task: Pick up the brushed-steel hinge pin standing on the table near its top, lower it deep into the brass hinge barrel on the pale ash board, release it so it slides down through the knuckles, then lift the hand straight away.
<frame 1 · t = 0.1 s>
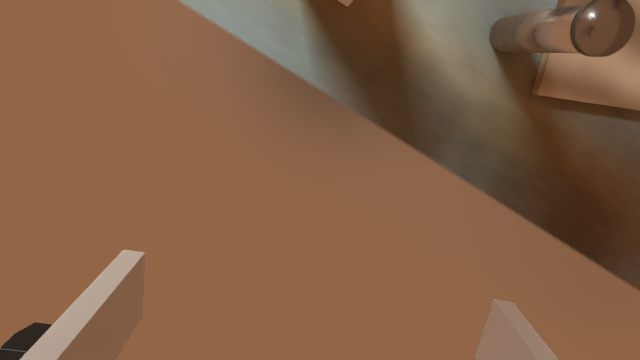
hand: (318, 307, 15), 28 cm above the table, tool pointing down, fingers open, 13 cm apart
hinge pin: (506, 34, 39), on the table
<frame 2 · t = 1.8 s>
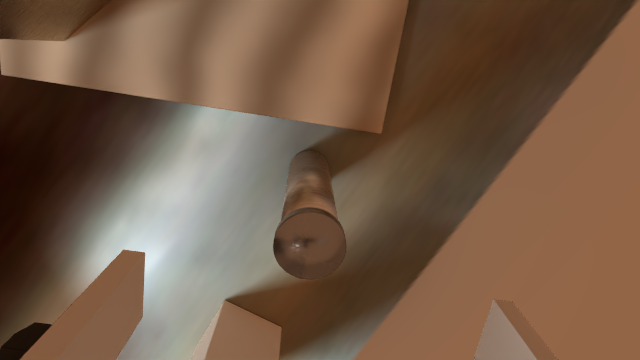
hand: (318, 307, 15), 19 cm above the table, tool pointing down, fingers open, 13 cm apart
hinge pin: (309, 169, 34), on the table
milk: (239, 335, 39), on the table
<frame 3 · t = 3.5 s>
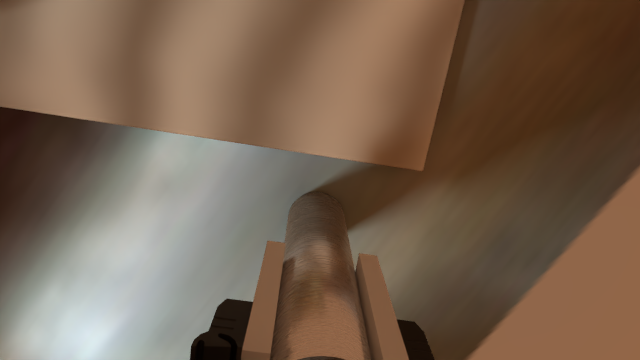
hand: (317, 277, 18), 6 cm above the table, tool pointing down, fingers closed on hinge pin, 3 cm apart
hinge pin: (316, 218, 24), on the table, touching gripper
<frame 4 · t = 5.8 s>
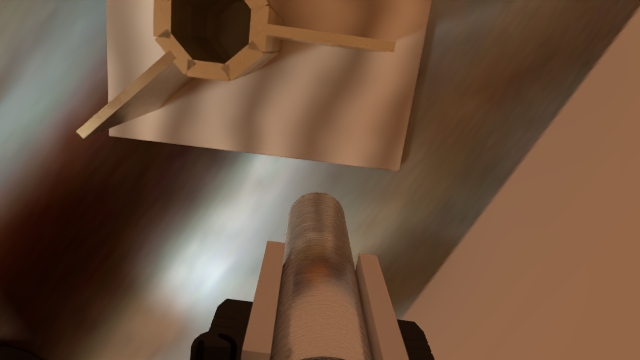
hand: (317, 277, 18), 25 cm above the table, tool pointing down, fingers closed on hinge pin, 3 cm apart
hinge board: (267, 46, 38), on the table
hinge pin: (316, 218, 24), point 18 cm above the table, touching gripper
hinge: (246, 31, 38), resting on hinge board
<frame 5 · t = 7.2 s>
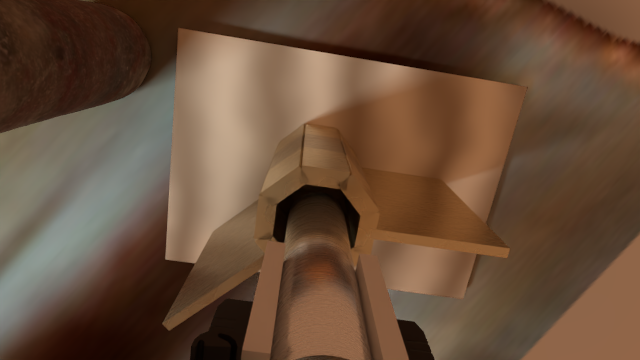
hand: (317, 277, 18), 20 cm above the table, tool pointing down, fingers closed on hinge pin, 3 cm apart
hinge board: (335, 174, 37), on the table
hinge pin: (316, 218, 24), point 13 cm above the table, touching gripper
hinge: (314, 159, 36), resting on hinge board
candle: (106, 55, 33), on the table
when the fingers open (16 cm above the table, at t = 8.4 s): hinge pin drops 9 cm, resting on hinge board.
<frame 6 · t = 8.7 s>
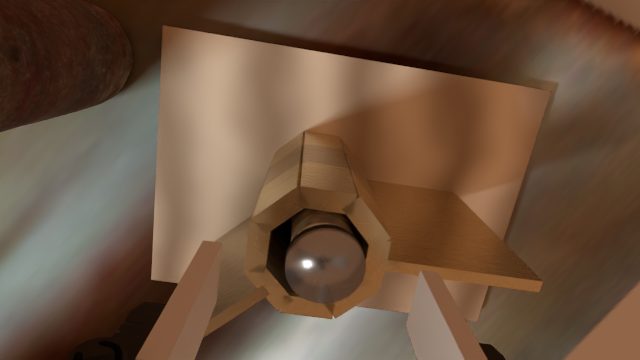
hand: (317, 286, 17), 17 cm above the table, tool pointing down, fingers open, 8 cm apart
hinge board: (337, 186, 33), on the table
hinge pin: (314, 174, 32), point 1 cm above the table, touching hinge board
hinge: (315, 171, 33), resting on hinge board
candle: (84, 55, 30), on the table
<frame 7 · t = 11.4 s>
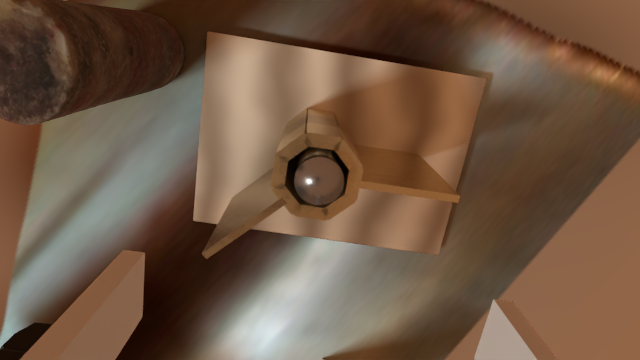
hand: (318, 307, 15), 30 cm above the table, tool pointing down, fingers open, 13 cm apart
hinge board: (332, 150, 45), on the table
hinge pin: (315, 139, 43), point 1 cm above the table, touching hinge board
hinge: (315, 138, 44), resting on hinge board
candle: (148, 52, 42), on the table
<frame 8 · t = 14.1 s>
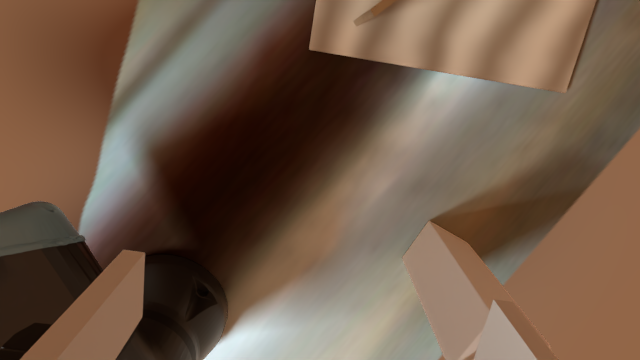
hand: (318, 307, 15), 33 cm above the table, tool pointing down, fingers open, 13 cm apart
milk: (434, 249, 51), on the table
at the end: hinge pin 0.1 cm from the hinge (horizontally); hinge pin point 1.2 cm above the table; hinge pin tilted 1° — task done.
